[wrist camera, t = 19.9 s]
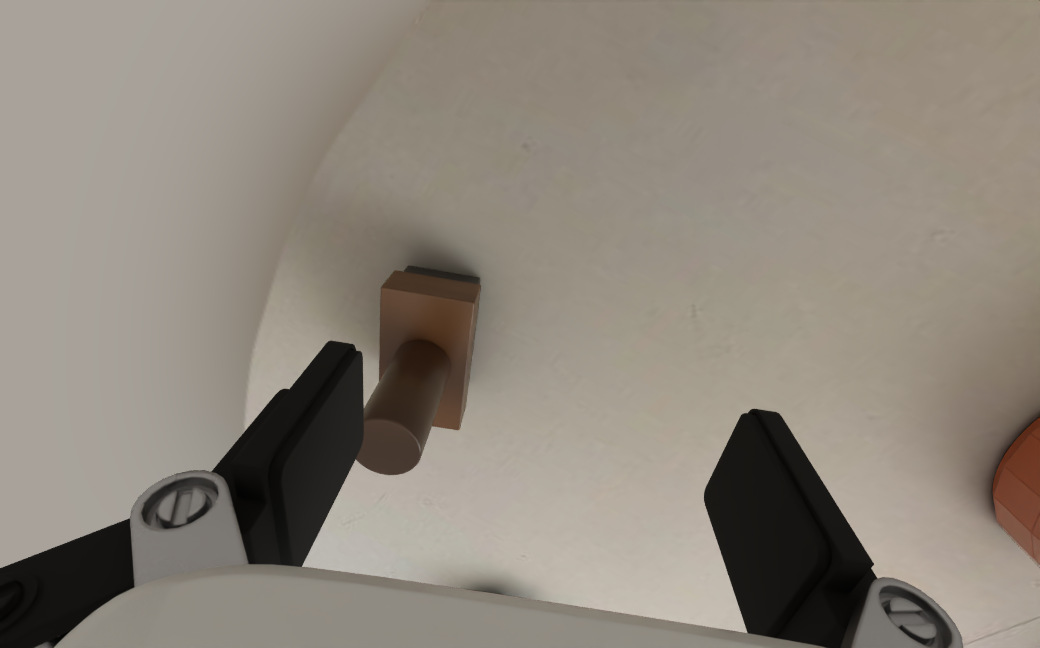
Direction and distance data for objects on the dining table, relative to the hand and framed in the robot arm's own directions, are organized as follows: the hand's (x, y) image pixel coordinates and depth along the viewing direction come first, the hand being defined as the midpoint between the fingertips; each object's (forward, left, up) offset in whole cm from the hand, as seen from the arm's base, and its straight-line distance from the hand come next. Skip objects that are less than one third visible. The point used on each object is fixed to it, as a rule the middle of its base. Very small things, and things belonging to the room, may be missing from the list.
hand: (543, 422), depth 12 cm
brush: (+5, -5, -12) cm, 14 cm away
